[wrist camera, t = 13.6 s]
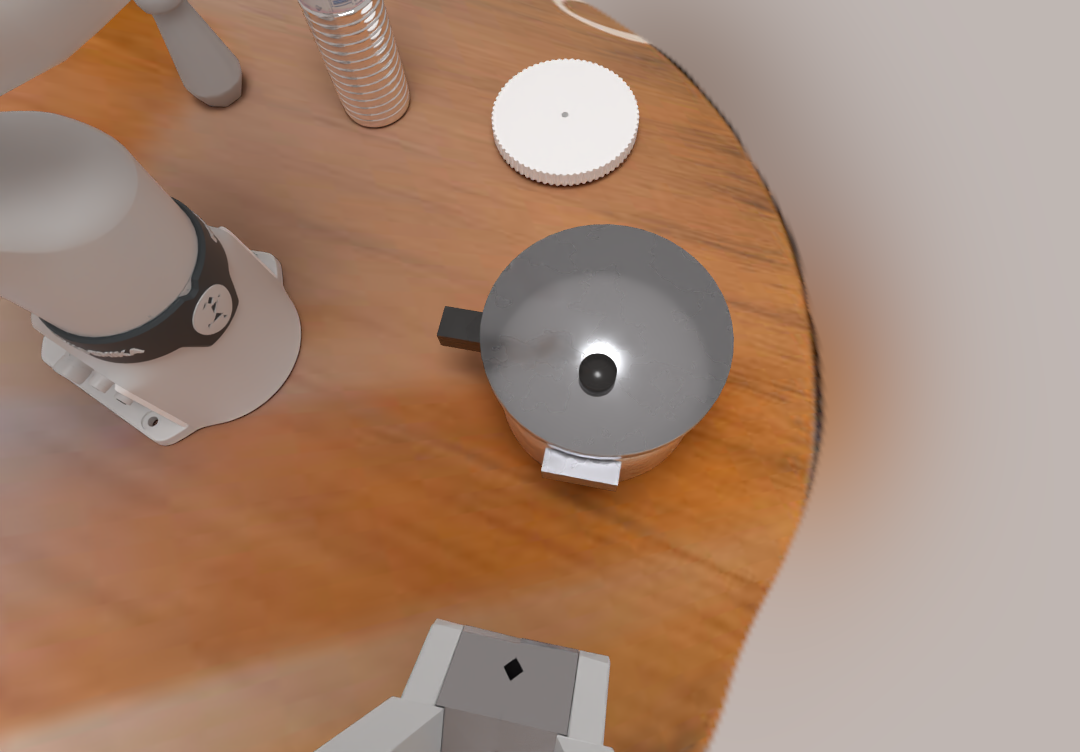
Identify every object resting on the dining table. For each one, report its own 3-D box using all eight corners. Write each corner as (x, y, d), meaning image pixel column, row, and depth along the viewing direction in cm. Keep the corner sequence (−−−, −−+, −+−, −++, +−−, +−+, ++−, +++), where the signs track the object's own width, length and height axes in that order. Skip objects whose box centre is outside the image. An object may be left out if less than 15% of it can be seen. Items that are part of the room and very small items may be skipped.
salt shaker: (252, 67, 68) (184, -54, 56) (251, 109, 66) (181, -6, 54) (196, 74, 68) (116, -44, 56) (193, 117, 66) (110, 4, 54)
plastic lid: (584, 58, 68) (585, 37, 65) (664, 149, 63) (668, 130, 61) (468, 118, 65) (464, 99, 63) (542, 216, 61) (542, 200, 59)
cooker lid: (455, 433, 43) (448, 420, 40) (510, 218, 49) (507, 195, 46) (715, 482, 41) (725, 472, 39) (740, 252, 47) (750, 231, 44)
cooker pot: (428, 475, 52) (400, 443, 43) (480, 281, 58) (464, 218, 49) (679, 524, 50) (704, 501, 41) (704, 318, 56) (732, 259, 47)
